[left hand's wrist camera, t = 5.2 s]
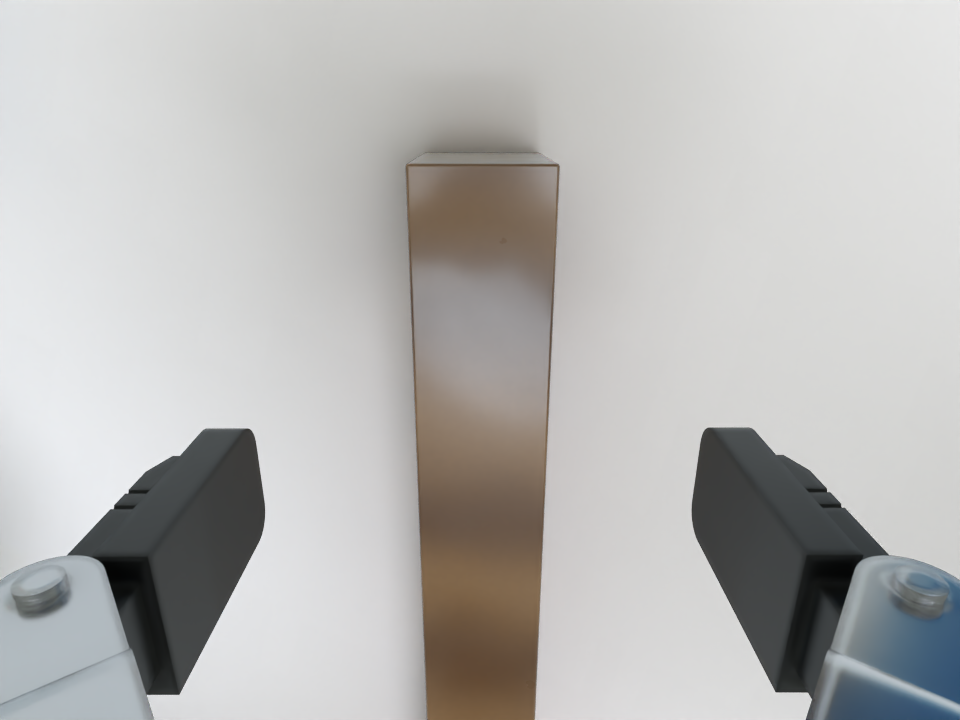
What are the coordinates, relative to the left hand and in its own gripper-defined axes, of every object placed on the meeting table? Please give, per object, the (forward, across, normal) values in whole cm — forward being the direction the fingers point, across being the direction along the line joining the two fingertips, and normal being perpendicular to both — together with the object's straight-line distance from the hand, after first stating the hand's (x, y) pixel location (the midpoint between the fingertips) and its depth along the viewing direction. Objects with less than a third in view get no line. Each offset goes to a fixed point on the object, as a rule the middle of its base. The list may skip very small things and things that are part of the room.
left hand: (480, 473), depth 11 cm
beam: (+16, 0, -24) cm, 28 cm away
